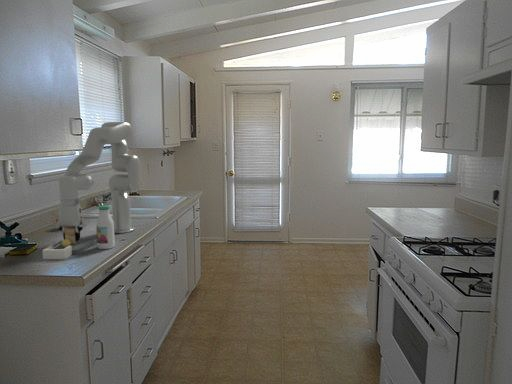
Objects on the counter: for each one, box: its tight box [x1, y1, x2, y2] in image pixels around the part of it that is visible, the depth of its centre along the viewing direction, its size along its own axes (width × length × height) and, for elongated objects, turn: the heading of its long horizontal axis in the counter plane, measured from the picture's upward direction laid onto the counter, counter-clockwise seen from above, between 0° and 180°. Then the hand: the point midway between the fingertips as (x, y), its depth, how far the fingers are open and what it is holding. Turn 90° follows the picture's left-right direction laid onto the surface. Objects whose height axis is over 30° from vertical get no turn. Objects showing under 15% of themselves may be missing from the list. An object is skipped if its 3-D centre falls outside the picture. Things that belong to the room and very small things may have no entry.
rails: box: [53, 244, 79, 249], centre depth 178 cm, size 8×9×1 cm
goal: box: [42, 245, 73, 260], centre depth 171 cm, size 7×9×4 cm
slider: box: [64, 227, 80, 244], centre depth 184 cm, size 4×5×8 cm
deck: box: [52, 240, 94, 255], centre depth 182 cm, size 16×15×2 cm
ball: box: [61, 239, 70, 247], centre depth 179 cm, size 4×4×4 cm
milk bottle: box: [95, 204, 116, 250], centre depth 184 cm, size 8×8×20 cm
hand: (72, 240), depth 185 cm, fingers closed on slider, 4 cm apart
